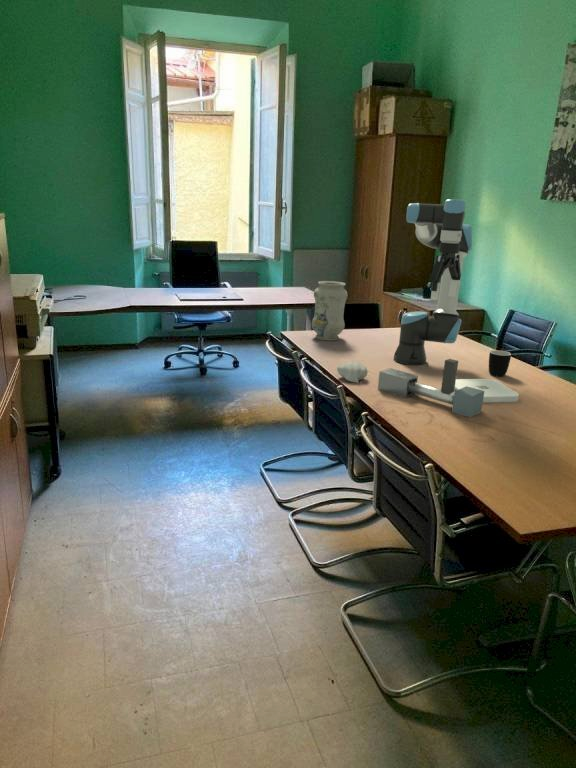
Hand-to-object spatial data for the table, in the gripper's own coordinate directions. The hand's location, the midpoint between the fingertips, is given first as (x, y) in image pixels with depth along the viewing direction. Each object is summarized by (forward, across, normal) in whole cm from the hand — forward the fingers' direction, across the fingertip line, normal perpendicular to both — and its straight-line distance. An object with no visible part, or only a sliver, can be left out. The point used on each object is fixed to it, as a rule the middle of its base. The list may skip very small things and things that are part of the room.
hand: (443, 298), depth 224 cm
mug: (+37, +41, -9) cm, 56 cm away
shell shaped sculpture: (+37, -17, +29) cm, 50 cm away
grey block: (+37, -16, -24) cm, 46 cm away
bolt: (+35, -16, -10) cm, 40 cm away
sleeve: (+37, -16, +6) cm, 41 cm away
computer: (+37, +10, -17) cm, 42 cm away
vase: (+37, +32, +82) cm, 95 cm away
